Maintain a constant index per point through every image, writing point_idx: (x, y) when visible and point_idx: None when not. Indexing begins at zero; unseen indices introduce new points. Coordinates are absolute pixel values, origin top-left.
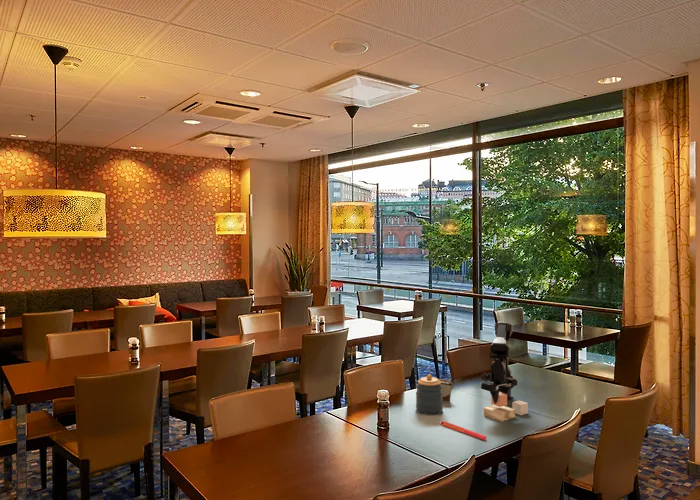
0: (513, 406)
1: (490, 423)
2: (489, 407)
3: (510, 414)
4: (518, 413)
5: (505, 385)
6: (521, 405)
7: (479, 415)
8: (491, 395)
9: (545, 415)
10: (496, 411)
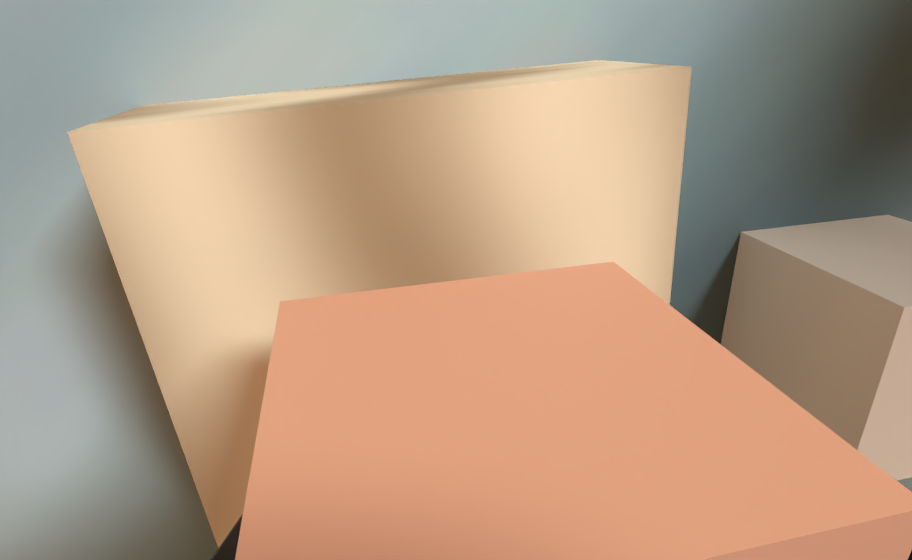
0: (821, 297)
1: (10, 489)
2: (269, 189)
3: None
4: (730, 351)
5: None
6: None
7: (34, 46)
8: (241, 532)
9: (898, 480)
10: (234, 479)
